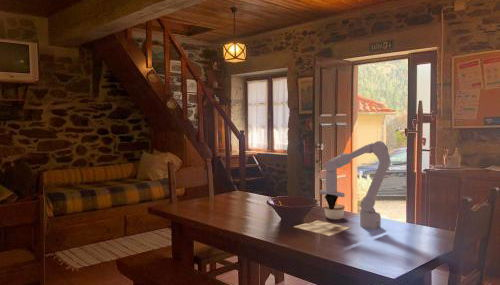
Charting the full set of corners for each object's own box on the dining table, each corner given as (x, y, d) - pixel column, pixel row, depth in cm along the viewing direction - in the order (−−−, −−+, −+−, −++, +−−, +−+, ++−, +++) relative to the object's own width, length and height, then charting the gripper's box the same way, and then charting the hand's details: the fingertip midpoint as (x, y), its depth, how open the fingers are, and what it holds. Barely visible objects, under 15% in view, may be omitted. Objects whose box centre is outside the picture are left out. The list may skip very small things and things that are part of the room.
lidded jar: (321, 220, 212) (321, 203, 212) (327, 216, 222) (327, 200, 221) (341, 223, 207) (341, 205, 207) (346, 218, 217) (346, 201, 216)
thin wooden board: (342, 234, 187) (342, 231, 187) (329, 238, 180) (329, 235, 180) (306, 225, 203) (306, 223, 203) (293, 229, 196) (293, 226, 196)
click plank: (350, 229, 193) (350, 227, 193) (340, 233, 188) (340, 231, 188) (317, 222, 208) (317, 220, 208) (307, 225, 202) (307, 223, 202)
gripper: (347, 183, 200) (348, 210, 200) (324, 181, 210) (324, 206, 211) (339, 185, 195) (340, 212, 195) (316, 182, 205) (316, 208, 206)
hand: (331, 209), depth 203 cm, fingers closed
